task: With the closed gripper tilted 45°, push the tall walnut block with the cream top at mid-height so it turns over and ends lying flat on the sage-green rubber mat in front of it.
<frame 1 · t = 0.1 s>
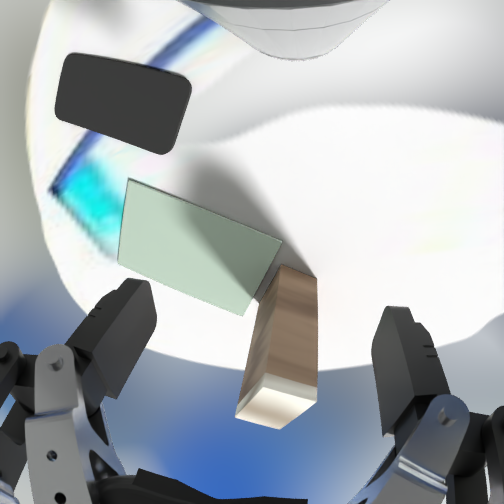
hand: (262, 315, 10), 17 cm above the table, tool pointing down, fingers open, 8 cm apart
walnut block: (286, 292, 31), on the table
green mat: (189, 252, 30), on the table
phone: (116, 97, 23), on the table
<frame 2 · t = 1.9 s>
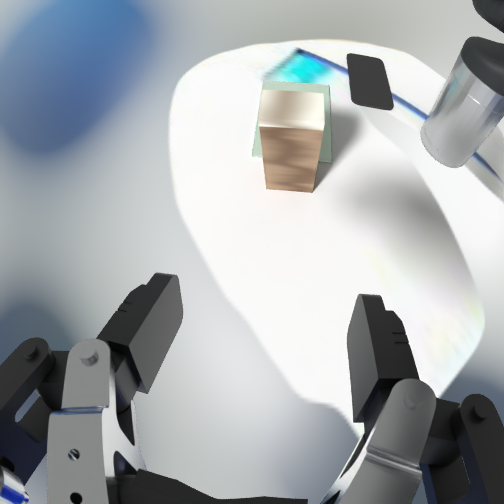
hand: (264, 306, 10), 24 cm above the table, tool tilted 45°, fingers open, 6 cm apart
walnut block: (290, 177, 39), on the table
green mat: (294, 116, 41), on the table
phone: (368, 81, 44), on the table
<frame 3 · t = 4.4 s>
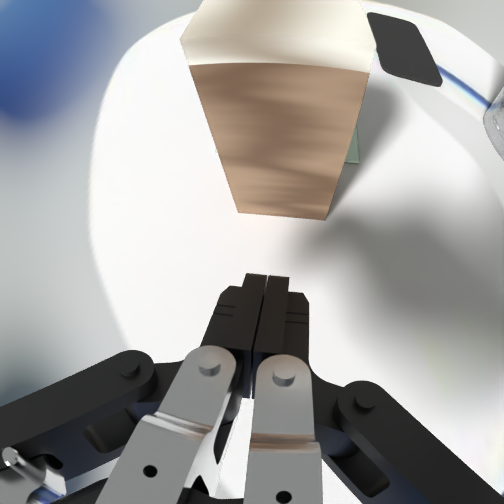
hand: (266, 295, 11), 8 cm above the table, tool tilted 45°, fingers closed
walnut block: (283, 190, 21), on the table
green mat: (292, 87, 24), on the table
phone: (400, 47, 26), on the table
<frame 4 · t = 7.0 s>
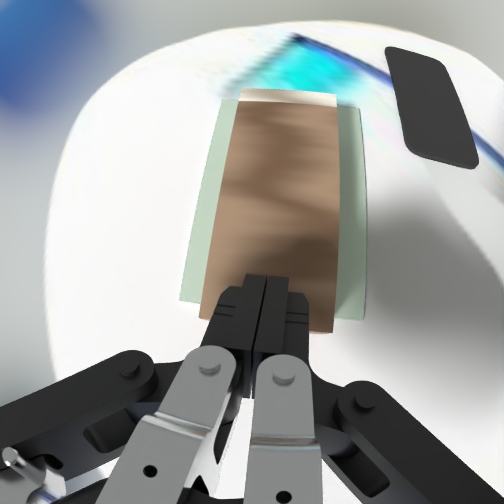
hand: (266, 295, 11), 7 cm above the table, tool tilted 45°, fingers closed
walnut block: (266, 328, 15), point 2 cm above the table, tilted 90°, touching green mat
green mat: (283, 189, 19), on the table
phone: (427, 102, 21), on the table
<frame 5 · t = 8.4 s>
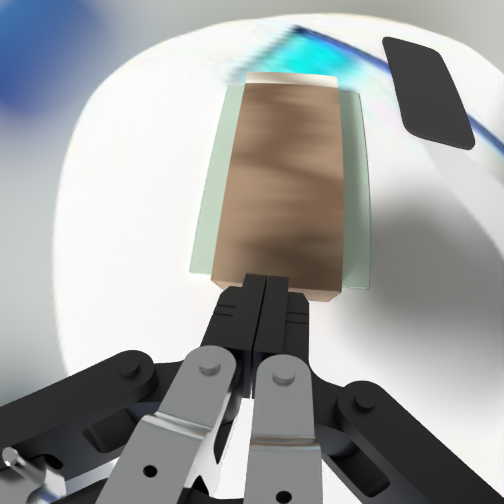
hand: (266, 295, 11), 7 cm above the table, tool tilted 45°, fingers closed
walnut block: (276, 292, 15), point 2 cm above the table, tilted 90°, touching green mat
green mat: (288, 166, 20), on the table
phone: (424, 88, 22), on the table
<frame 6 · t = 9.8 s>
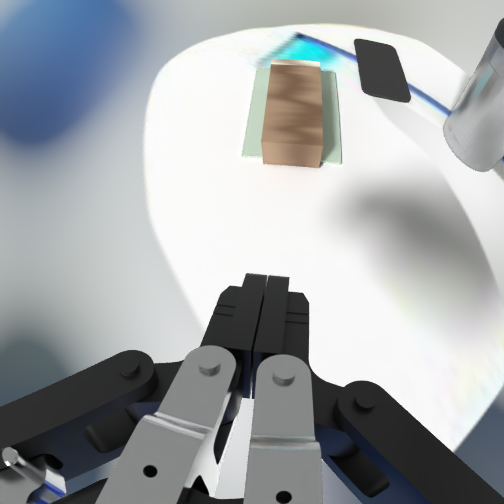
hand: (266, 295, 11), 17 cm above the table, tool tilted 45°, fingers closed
walnut block: (291, 155, 29), point 2 cm above the table, tilted 90°, touching green mat
green mat: (294, 108, 34), on the table
phone: (379, 69, 36), on the table
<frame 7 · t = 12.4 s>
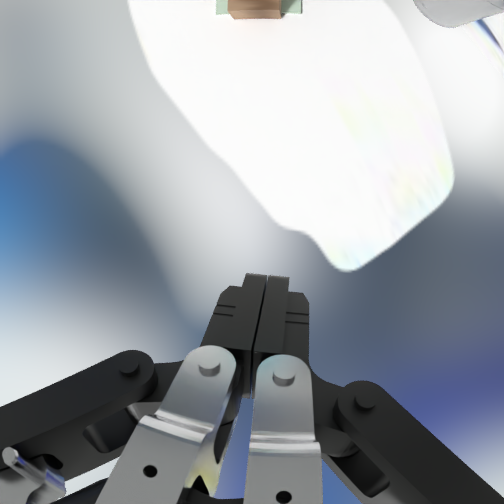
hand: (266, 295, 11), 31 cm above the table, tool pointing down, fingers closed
walnut block: (255, 14, 27), point 2 cm above the table, tilted 90°, touching green mat
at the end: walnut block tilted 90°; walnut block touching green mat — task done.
